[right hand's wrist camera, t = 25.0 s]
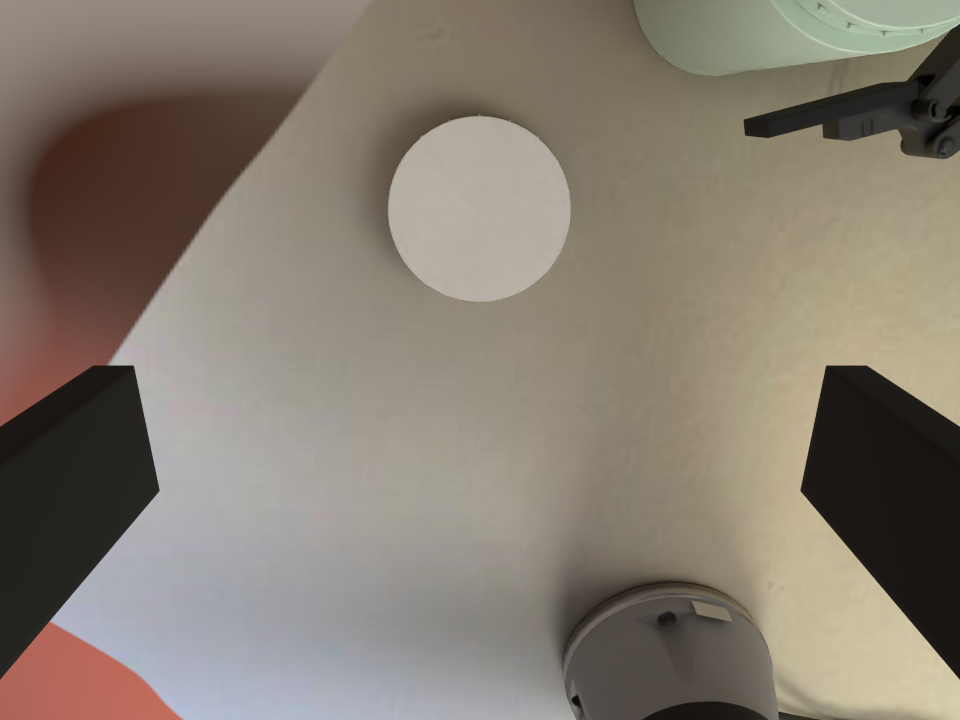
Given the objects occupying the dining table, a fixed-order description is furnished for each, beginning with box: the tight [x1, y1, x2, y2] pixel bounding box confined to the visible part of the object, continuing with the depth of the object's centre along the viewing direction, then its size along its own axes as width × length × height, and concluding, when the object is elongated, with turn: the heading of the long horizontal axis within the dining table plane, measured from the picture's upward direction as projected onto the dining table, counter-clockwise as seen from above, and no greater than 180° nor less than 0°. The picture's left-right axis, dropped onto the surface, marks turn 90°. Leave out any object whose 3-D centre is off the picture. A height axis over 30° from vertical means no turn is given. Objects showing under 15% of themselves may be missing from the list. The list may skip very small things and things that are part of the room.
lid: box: [388, 114, 571, 302], centre depth 37 cm, size 10×10×2 cm
